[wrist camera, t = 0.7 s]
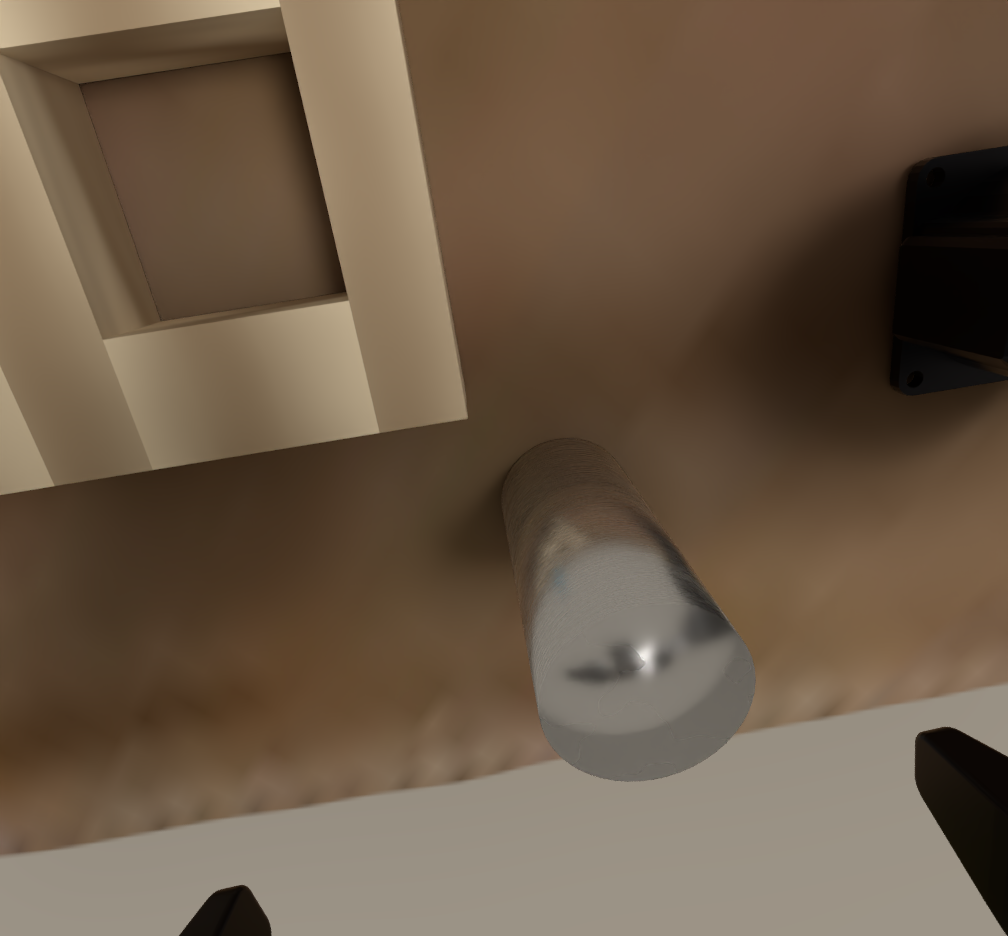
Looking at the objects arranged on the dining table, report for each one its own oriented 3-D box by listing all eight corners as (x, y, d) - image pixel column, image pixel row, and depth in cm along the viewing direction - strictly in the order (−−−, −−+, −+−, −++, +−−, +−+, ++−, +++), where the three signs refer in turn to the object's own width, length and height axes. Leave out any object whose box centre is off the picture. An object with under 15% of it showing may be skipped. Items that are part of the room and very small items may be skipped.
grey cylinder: (621, 428, 19) (756, 586, 11) (630, 542, 20) (755, 761, 12) (492, 449, 19) (524, 626, 10) (510, 562, 20) (552, 797, 12)
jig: (374, -136, 14) (354, -230, 11) (465, 389, 18) (467, 418, 15) (-455, -16, 13) (-697, -81, 10) (-156, 489, 18) (-269, 538, 15)
